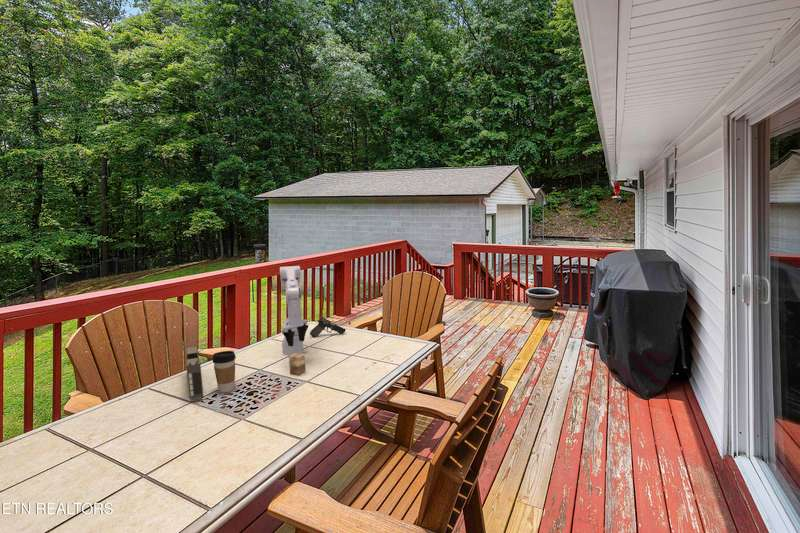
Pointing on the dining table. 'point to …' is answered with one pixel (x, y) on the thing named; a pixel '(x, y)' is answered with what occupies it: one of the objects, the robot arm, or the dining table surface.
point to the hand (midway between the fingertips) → (296, 343)
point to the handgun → (323, 324)
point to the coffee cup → (225, 370)
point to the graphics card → (194, 374)
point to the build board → (298, 376)
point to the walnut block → (297, 370)
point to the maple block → (296, 359)
